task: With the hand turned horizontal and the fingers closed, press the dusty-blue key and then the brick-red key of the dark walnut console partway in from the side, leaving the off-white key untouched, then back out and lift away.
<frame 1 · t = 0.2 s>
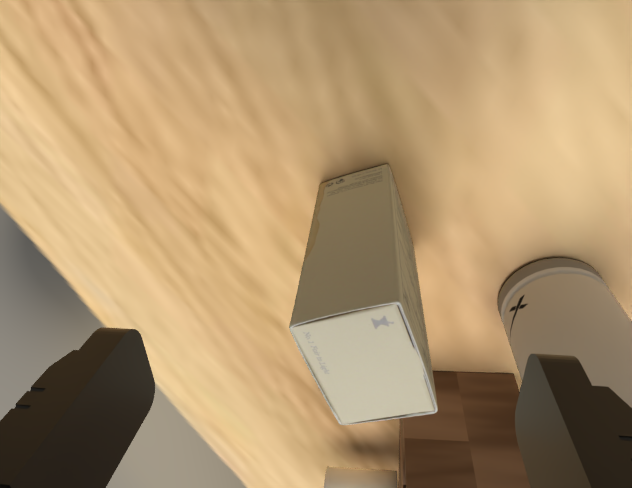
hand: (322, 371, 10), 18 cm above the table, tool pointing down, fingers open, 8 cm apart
console: (411, 452, 39), on the table
skincare box: (370, 216, 28), on the table
travel mug: (544, 295, 29), on the table
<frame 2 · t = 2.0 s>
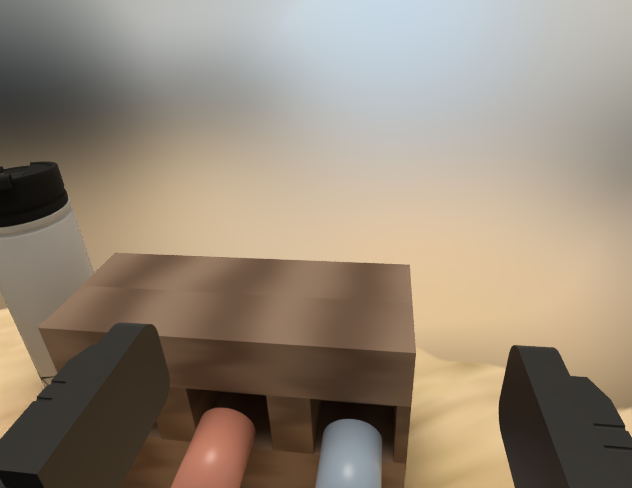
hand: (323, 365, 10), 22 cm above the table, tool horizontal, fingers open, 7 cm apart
blue key: (349, 477, 23), point 8 cm above the table, slide at 0.0 cm
red key: (214, 463, 24), point 8 cm above the table, slide at 0.0 cm
travel mug: (88, 382, 40), on the table
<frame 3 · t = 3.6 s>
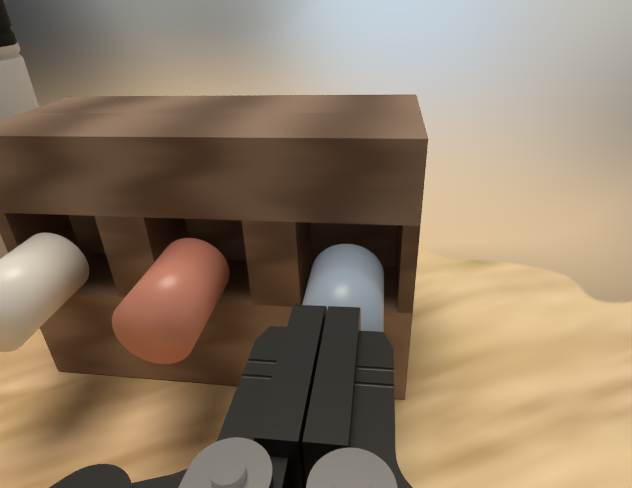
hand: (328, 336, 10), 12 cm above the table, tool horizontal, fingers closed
blue key: (343, 306, 18), point 8 cm above the table, slide at 0.0 cm
red key: (176, 297, 19), point 8 cm above the table, slide at 0.0 cm
console: (227, 371, 26), on the table
travel mug: (48, 282, 35), on the table
white key: (25, 288, 20), point 8 cm above the table, slide at 0.0 cm
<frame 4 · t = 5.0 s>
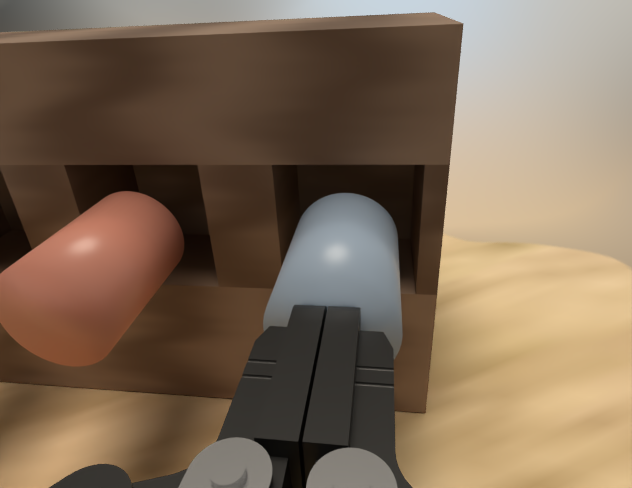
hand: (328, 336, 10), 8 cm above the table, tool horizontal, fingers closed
blue key: (340, 279, 12), point 8 cm above the table, slide at 0.0 cm, touching gripper
red key: (102, 270, 13), point 8 cm above the table, slide at 0.0 cm
console: (195, 378, 20), on the table
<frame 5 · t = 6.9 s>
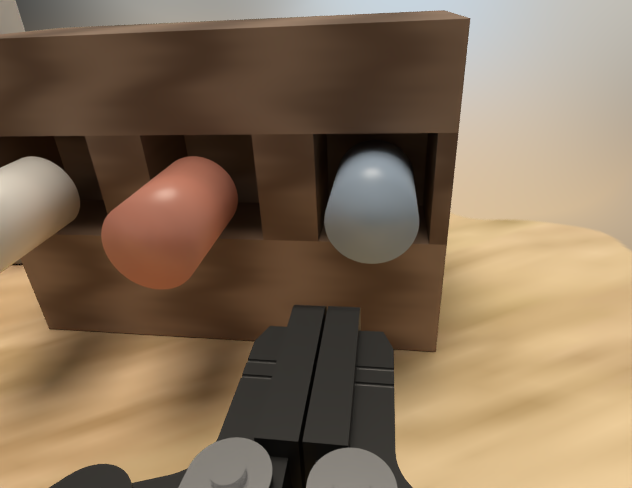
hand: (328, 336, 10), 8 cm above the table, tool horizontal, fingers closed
blue key: (373, 197, 17), point 8 cm above the table, slide at 2.1 cm
red key: (177, 218, 17), point 8 cm above the table, slide at 0.0 cm
console: (235, 326, 24), on the table
travel mug: (43, 246, 33), on the table
white key: (6, 214, 18), point 8 cm above the table, slide at 0.0 cm
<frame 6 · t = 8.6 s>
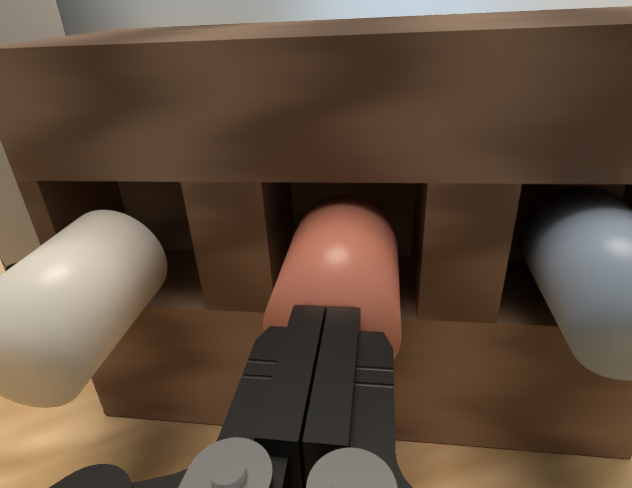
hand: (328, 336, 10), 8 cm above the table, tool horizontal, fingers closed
blue key: (604, 273, 12), point 8 cm above the table, slide at 2.1 cm
red key: (339, 280, 12), point 8 cm above the table, slide at 1.4 cm, touching gripper
console: (348, 414, 18), on the table
travel mug: (79, 289, 28), on the table
white key: (74, 298, 12), point 8 cm above the table, slide at 0.0 cm
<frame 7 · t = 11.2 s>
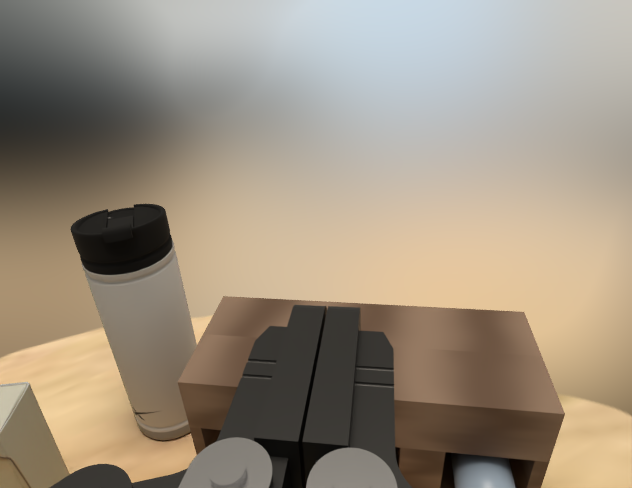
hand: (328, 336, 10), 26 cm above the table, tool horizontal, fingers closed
travel mug: (175, 414, 41), on the table
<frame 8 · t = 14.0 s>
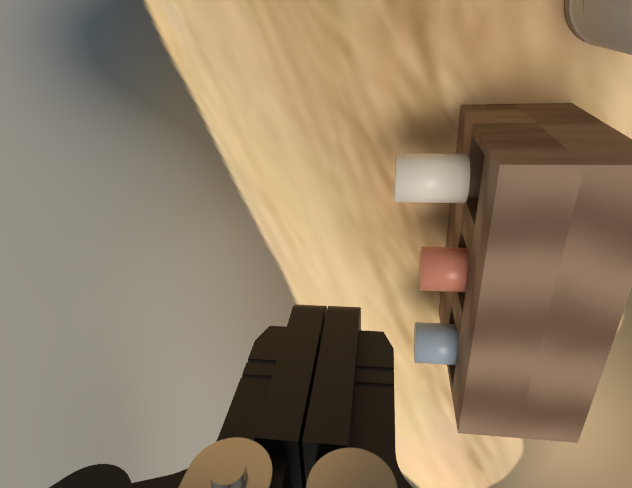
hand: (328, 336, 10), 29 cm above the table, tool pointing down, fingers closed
blue key: (444, 343, 36), point 8 cm above the table, slide at 2.1 cm
red key: (452, 269, 33), point 8 cm above the table, slide at 2.1 cm
console: (460, 221, 40), on the table
white key: (430, 178, 30), point 8 cm above the table, slide at 0.0 cm
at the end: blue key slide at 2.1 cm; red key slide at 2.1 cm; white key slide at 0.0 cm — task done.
